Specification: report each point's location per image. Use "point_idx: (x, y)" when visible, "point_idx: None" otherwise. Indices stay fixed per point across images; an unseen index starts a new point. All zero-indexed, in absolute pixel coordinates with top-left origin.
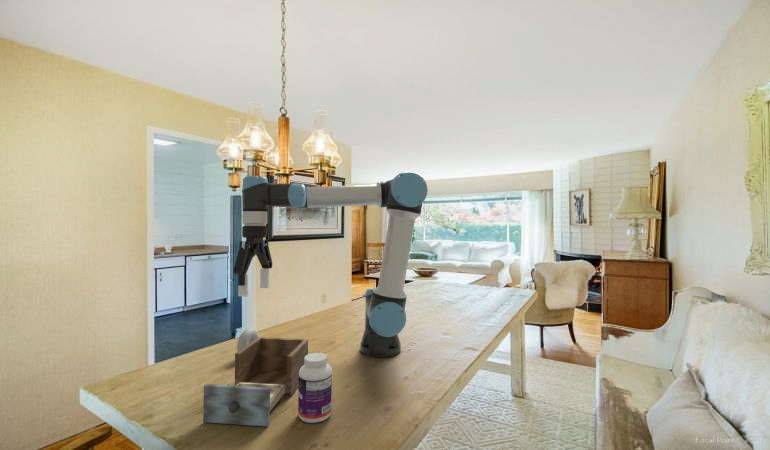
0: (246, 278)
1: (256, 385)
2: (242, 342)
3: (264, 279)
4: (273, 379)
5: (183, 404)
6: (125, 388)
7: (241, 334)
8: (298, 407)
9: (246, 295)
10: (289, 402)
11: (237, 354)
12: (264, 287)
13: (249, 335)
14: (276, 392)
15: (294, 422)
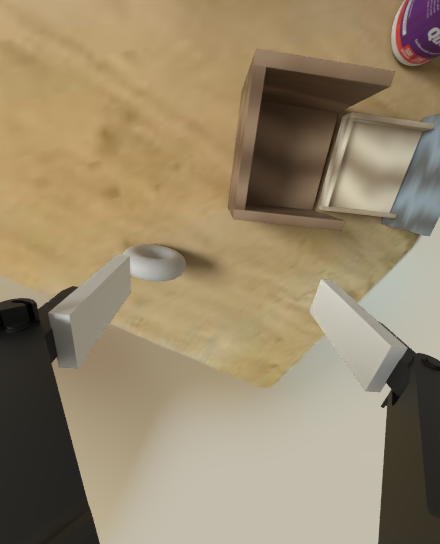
0: (387, 332)
1: (336, 174)
2: (181, 266)
3: (112, 295)
4: (277, 160)
5: (328, 272)
6: (274, 355)
7: (167, 278)
8: (437, 56)
9: (333, 283)
10: None
11: (342, 225)
12: (129, 274)
13: (163, 261)
14: (380, 120)
15: (426, 72)
